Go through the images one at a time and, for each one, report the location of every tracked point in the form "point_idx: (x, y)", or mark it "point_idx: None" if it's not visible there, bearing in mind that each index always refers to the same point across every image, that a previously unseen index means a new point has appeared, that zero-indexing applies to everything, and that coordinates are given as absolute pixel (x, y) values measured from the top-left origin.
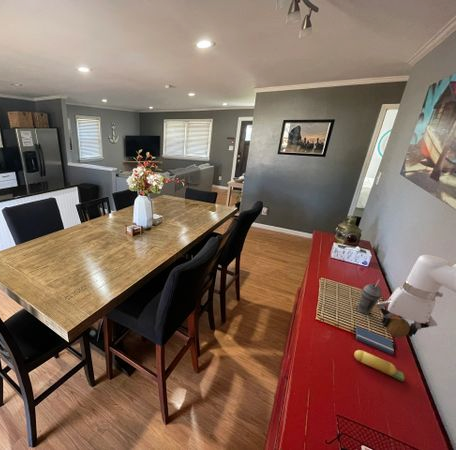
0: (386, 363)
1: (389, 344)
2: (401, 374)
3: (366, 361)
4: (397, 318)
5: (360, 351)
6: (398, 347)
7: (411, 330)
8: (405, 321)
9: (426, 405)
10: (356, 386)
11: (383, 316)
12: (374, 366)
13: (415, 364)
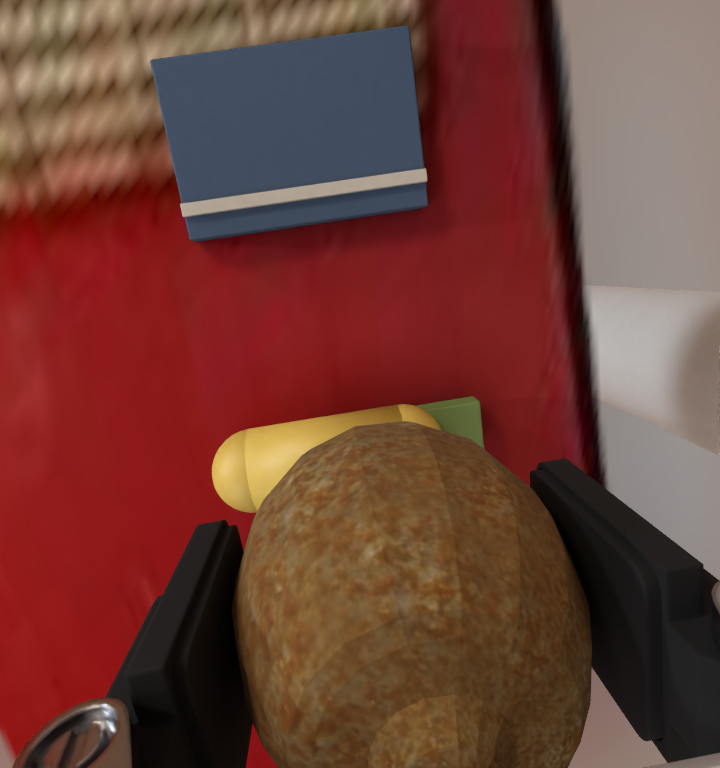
0: None
1: (397, 115)
2: (470, 423)
3: None
4: (358, 750)
5: (232, 489)
6: (456, 63)
7: (601, 675)
8: (526, 731)
9: None
10: None
11: (119, 683)
12: None
13: (548, 188)
